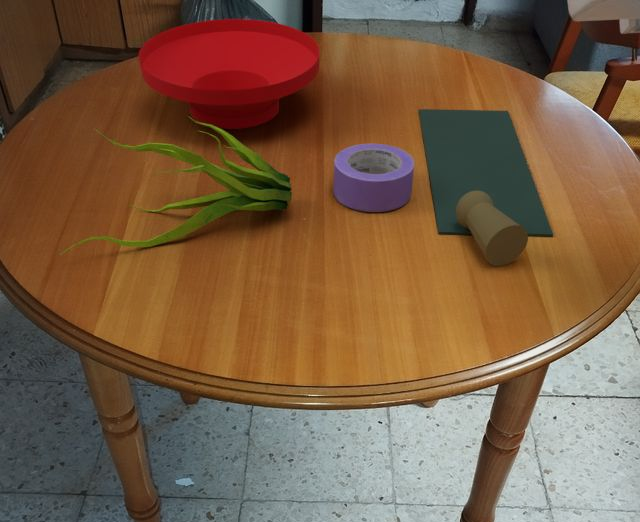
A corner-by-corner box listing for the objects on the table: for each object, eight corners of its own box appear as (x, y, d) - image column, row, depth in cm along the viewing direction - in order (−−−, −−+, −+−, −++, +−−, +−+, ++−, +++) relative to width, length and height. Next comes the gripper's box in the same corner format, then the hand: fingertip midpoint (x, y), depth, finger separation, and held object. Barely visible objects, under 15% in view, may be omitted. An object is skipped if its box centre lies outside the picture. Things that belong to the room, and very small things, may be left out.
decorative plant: (95, 197, 101) (68, 95, 90) (294, 199, 101) (291, 97, 90) (62, 267, 89) (27, 160, 78) (288, 270, 89) (283, 163, 78)
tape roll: (334, 172, 106) (335, 141, 102) (408, 174, 106) (412, 143, 102) (332, 212, 98) (333, 180, 95) (413, 214, 98) (417, 182, 94)
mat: (418, 111, 121) (418, 108, 121) (507, 112, 121) (508, 110, 121) (438, 234, 95) (438, 231, 94) (552, 236, 94) (553, 234, 94)
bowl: (206, 66, 135) (199, 9, 127) (346, 93, 126) (348, 34, 119) (113, 127, 116) (100, 66, 109) (270, 165, 108) (267, 100, 100)
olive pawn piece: (525, 258, 90) (487, 215, 97) (530, 219, 86) (489, 177, 92) (484, 271, 90) (448, 228, 97) (486, 233, 85) (448, 190, 92)
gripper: (829, -100, 60) (720, -8, 73) (611, -95, 58) (540, -1, 71) (833, -26, 60) (723, 52, 74) (616, -18, 58) (545, 60, 72)
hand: (632, 26), depth 73 cm, fingers closed
